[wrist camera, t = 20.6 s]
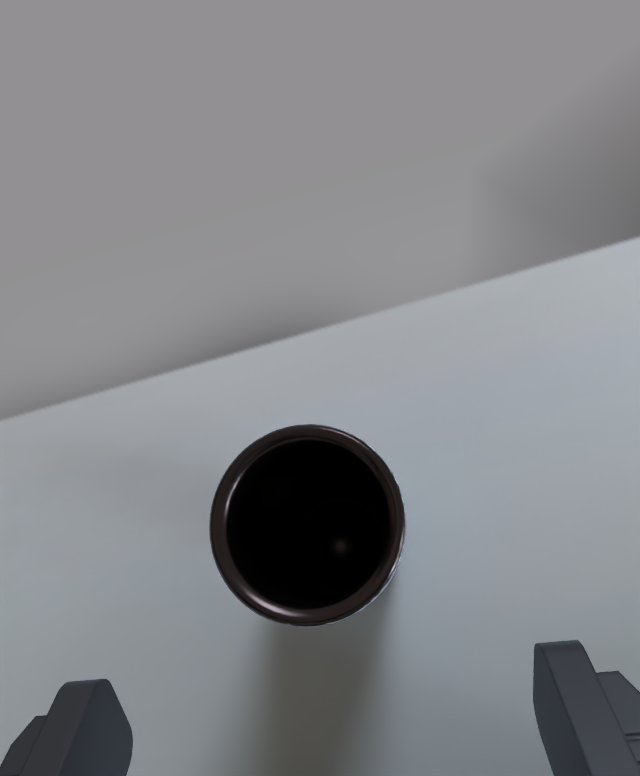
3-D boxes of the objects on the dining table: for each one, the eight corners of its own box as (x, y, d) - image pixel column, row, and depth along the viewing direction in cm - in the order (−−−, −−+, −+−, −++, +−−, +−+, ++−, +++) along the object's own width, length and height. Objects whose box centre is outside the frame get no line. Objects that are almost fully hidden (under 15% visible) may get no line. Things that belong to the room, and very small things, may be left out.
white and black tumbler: (267, 581, 22) (174, 580, 13) (309, 473, 24) (253, 397, 14) (376, 626, 21) (365, 663, 12) (415, 512, 23) (433, 459, 13)
